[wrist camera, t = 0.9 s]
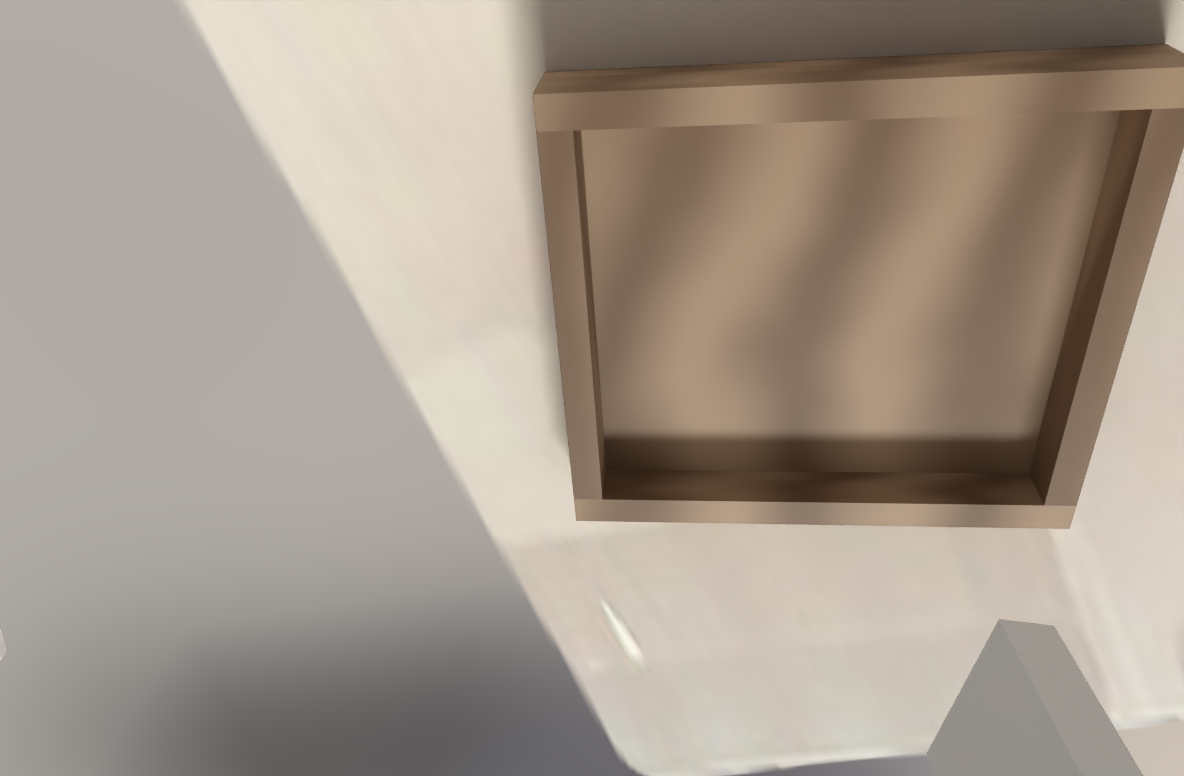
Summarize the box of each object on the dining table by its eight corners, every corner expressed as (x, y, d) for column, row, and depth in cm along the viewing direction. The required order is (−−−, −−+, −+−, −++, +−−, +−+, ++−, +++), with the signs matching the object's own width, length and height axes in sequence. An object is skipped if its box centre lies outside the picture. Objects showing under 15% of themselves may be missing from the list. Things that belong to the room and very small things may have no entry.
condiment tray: (1166, 44, 28) (1207, 66, 26) (1046, 484, 38) (1069, 528, 36) (545, 71, 31) (532, 94, 28) (583, 479, 41) (576, 520, 38)
